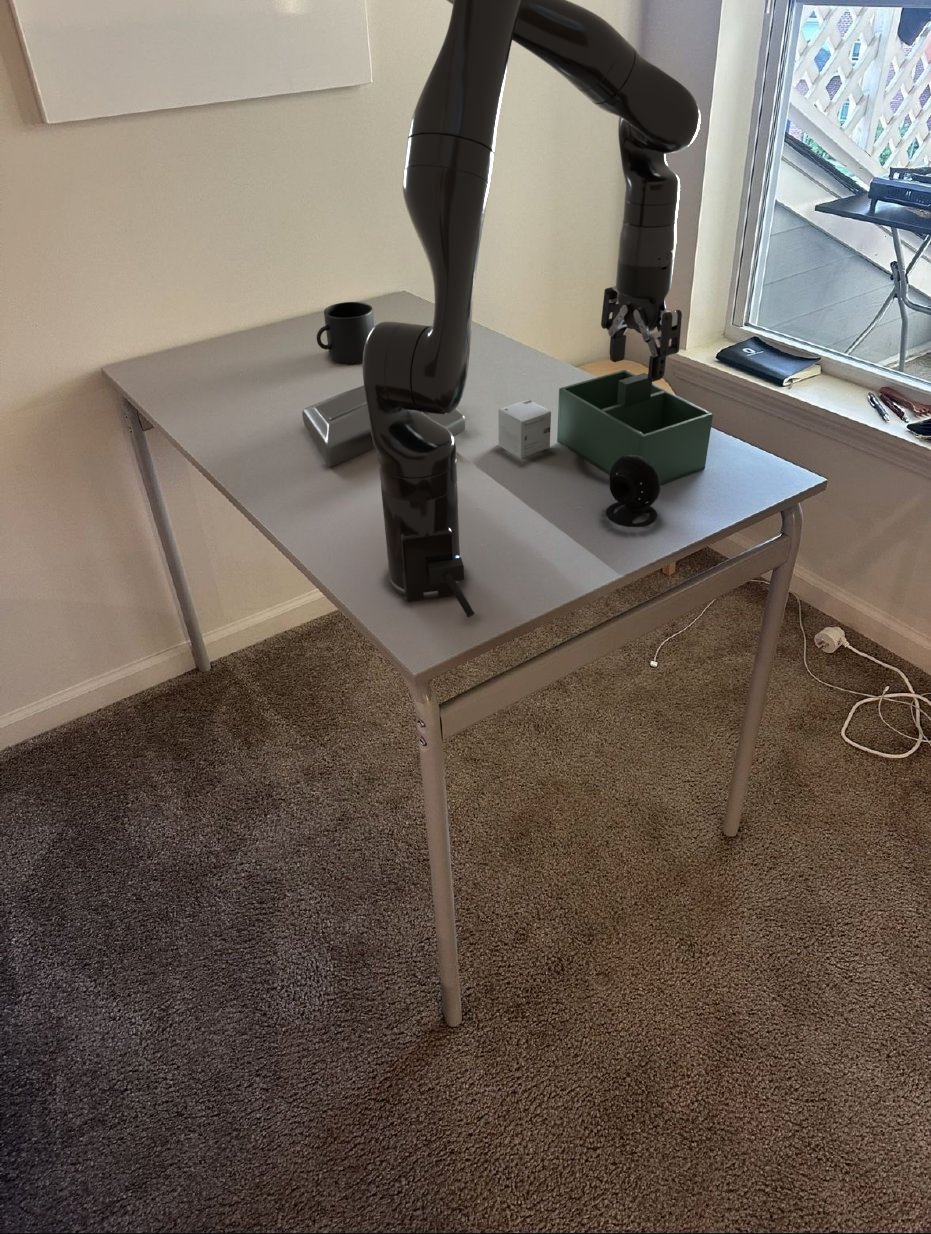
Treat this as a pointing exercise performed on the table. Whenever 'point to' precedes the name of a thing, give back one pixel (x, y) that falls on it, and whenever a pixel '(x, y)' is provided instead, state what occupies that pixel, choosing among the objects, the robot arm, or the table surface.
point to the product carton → (524, 428)
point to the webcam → (633, 490)
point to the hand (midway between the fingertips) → (635, 370)
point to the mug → (346, 331)
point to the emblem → (354, 425)
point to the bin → (633, 424)
